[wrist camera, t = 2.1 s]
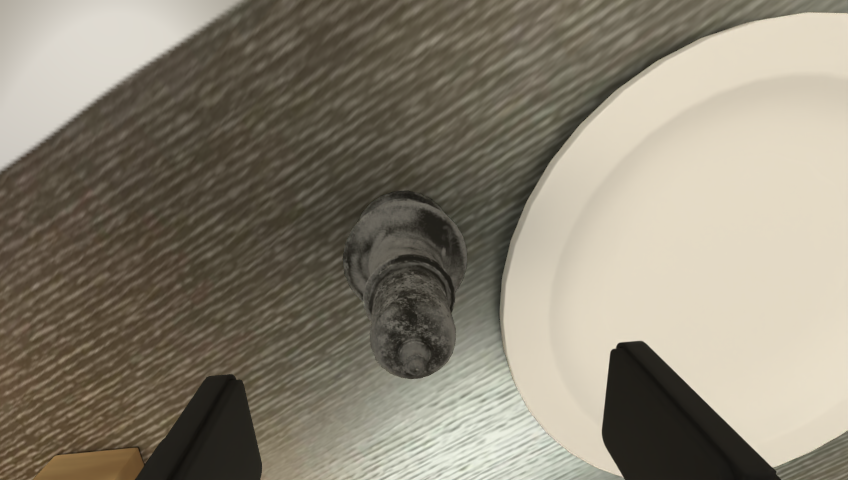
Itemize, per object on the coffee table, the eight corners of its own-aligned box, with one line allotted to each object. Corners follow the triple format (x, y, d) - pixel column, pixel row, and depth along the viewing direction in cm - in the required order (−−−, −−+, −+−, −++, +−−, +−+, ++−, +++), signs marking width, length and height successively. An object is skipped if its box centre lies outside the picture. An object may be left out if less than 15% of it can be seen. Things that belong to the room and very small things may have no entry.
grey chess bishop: (347, 283, 24) (309, 454, 12) (351, 181, 22) (310, 271, 11) (450, 288, 24) (503, 455, 13) (462, 189, 22) (536, 283, 11)
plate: (1047, 98, 23) (1116, 98, 21) (796, 476, 32) (827, 505, 30) (591, -54, 19) (618, -73, 17) (441, 428, 28) (445, 457, 25)
